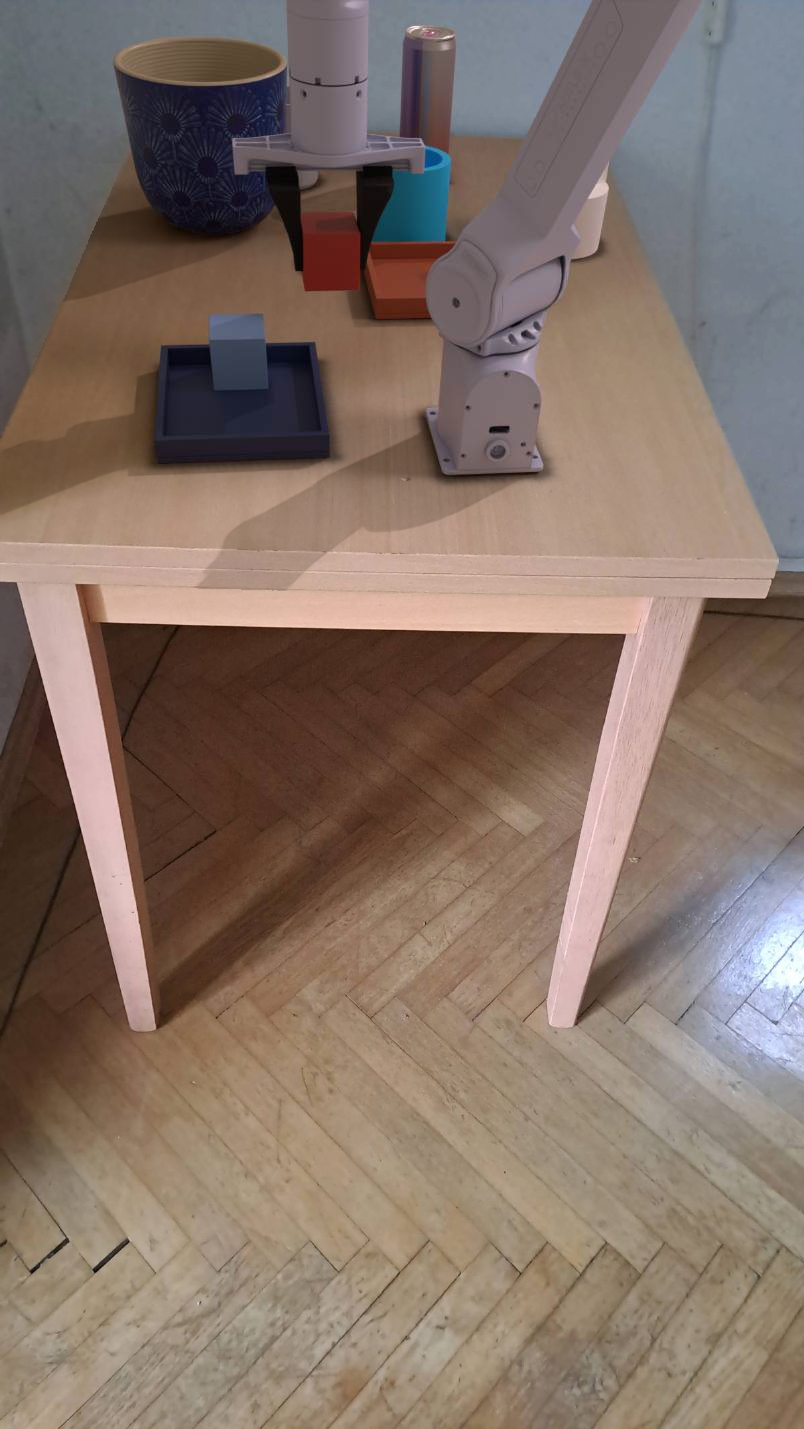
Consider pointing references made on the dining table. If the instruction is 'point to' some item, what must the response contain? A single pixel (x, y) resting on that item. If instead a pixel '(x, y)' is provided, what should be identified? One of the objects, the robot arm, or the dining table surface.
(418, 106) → the beverage can
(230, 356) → the blue block
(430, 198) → the mug
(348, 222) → the red block
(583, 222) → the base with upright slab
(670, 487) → the dining table surface
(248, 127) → the planter
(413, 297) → the tray
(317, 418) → the blue tray
